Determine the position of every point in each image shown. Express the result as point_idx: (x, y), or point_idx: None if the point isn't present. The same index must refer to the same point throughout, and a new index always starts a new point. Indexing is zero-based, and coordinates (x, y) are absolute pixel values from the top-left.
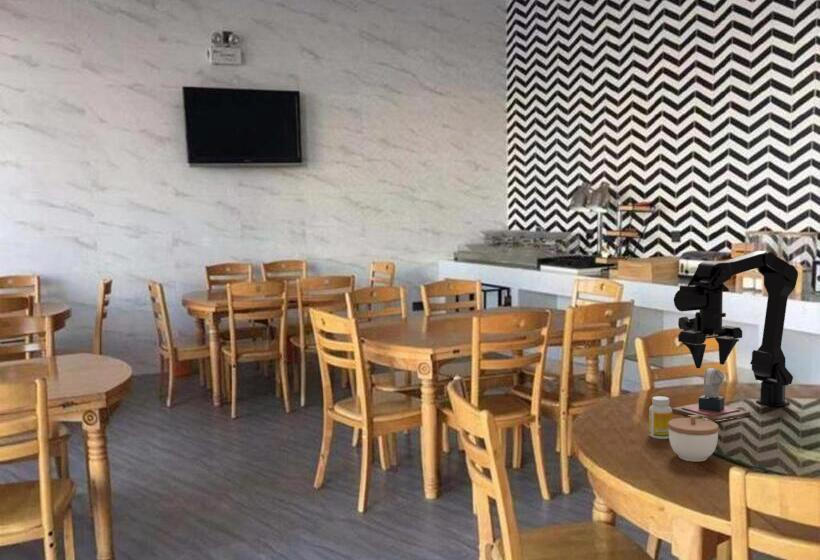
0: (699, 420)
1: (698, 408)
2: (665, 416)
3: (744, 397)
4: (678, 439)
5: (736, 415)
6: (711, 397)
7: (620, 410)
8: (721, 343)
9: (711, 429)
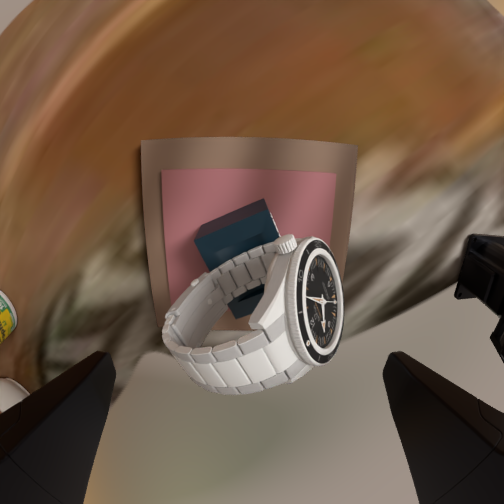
0: None
1: (207, 219)
2: None
3: (496, 173)
4: None
5: None
6: (235, 281)
7: (37, 57)
8: (484, 486)
9: None
